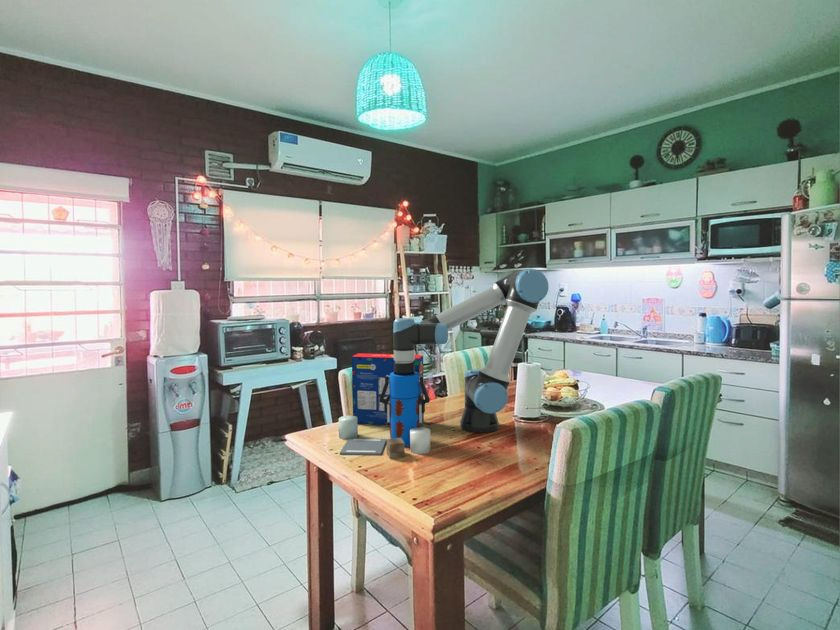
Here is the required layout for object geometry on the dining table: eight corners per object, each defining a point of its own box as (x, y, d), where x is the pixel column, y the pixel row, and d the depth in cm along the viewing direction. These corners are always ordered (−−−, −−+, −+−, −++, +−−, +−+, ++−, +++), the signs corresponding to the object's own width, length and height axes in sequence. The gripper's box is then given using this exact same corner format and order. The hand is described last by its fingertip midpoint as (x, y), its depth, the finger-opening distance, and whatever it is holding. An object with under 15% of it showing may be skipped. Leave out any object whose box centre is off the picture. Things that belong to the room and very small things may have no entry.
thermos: (413, 448, 159) (412, 377, 157) (385, 444, 162) (384, 375, 161) (424, 438, 169) (423, 371, 167) (397, 435, 173) (396, 369, 171)
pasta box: (423, 421, 189) (423, 355, 187) (419, 427, 181) (418, 358, 179) (359, 418, 195) (358, 353, 193) (353, 423, 187) (351, 356, 185)
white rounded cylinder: (430, 446, 160) (430, 427, 160) (430, 454, 153) (429, 434, 153) (411, 446, 161) (410, 427, 160) (409, 454, 154) (409, 433, 153)
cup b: (359, 433, 175) (359, 415, 174) (355, 439, 168) (355, 421, 168) (341, 433, 175) (341, 415, 175) (337, 439, 168) (336, 421, 168)
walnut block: (401, 452, 156) (400, 437, 155) (404, 457, 151) (404, 442, 150) (386, 453, 154) (386, 439, 154) (389, 459, 149) (389, 444, 149)
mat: (386, 440, 167) (386, 438, 167) (380, 455, 153) (380, 453, 153) (348, 439, 168) (348, 438, 168) (339, 454, 154) (339, 452, 154)
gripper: (436, 359, 166) (437, 418, 168) (373, 359, 168) (374, 418, 169) (436, 363, 159) (436, 425, 160) (370, 363, 160) (371, 424, 162)
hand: (404, 421), depth 165 cm, fingers closed on thermos, 11 cm apart
